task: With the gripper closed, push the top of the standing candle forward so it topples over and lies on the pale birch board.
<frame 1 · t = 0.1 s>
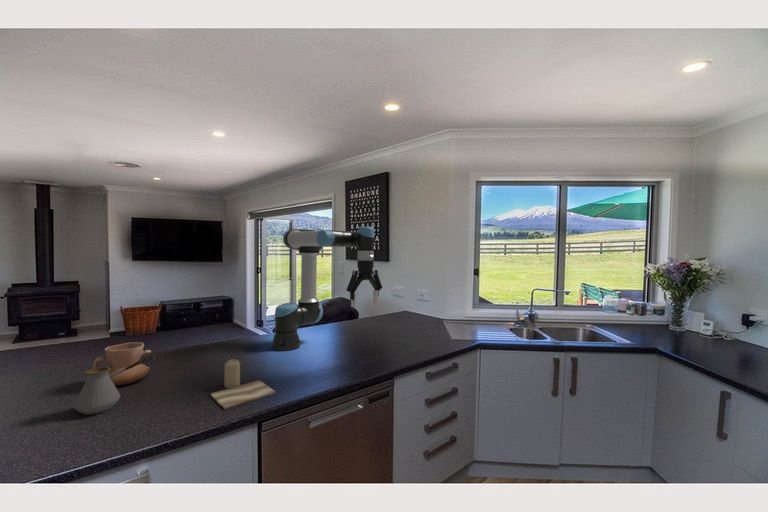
hand: (364, 305, 153), 28 cm above the worktop, tool pointing down, fingers open, 13 cm apart
coffee pot: (117, 405, 111), on the worktop
birch board: (243, 394, 120), on the worktop
candle: (232, 385, 128), on the worktop
stacked tan cups: (123, 382, 129), on the worktop
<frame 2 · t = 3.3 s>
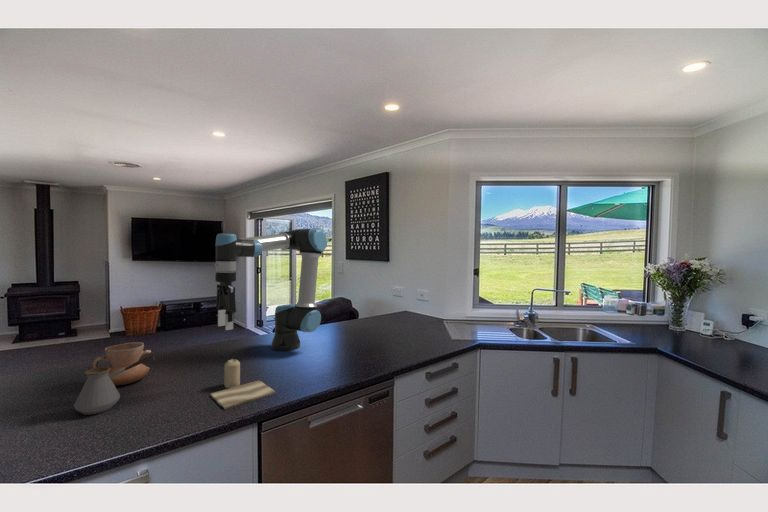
hand: (225, 327, 133), 21 cm above the worktop, tool pointing down, fingers open, 8 cm apart
nothing on the worktop moved.
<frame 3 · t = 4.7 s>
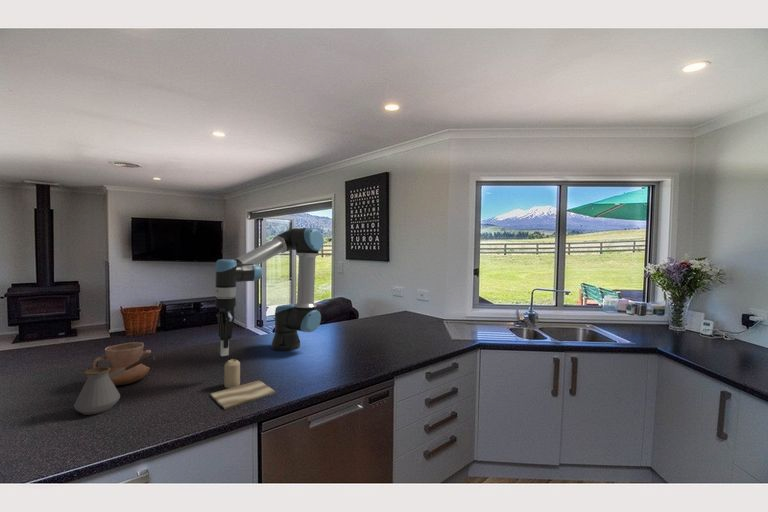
hand: (224, 355, 133), 10 cm above the worktop, tool pointing down, fingers closed
nothing on the worktop moved.
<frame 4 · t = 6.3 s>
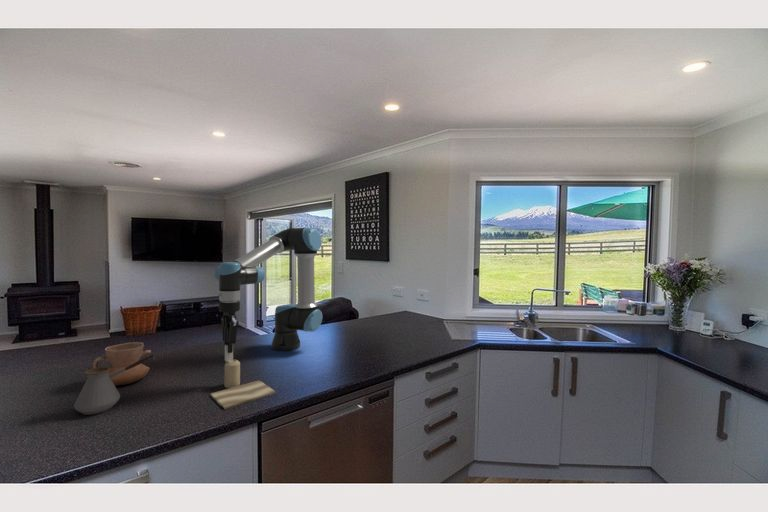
hand: (228, 360, 130), 9 cm above the worktop, tool pointing down, fingers closed
candle: (232, 385, 128), on the worktop, touching gripper
everything else where it was.
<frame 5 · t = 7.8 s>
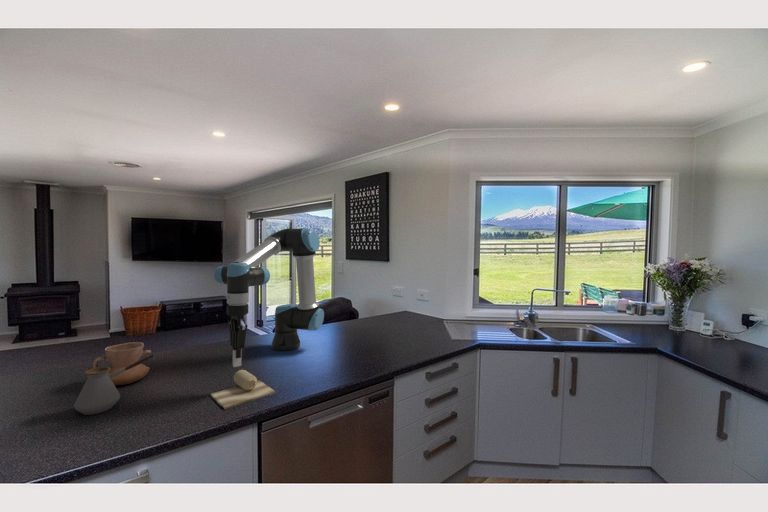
hand: (236, 365, 124), 9 cm above the worktop, tool pointing down, fingers closed
candle: (240, 376, 127), point 4 cm above the worktop, touching birch board
everything else where it was.
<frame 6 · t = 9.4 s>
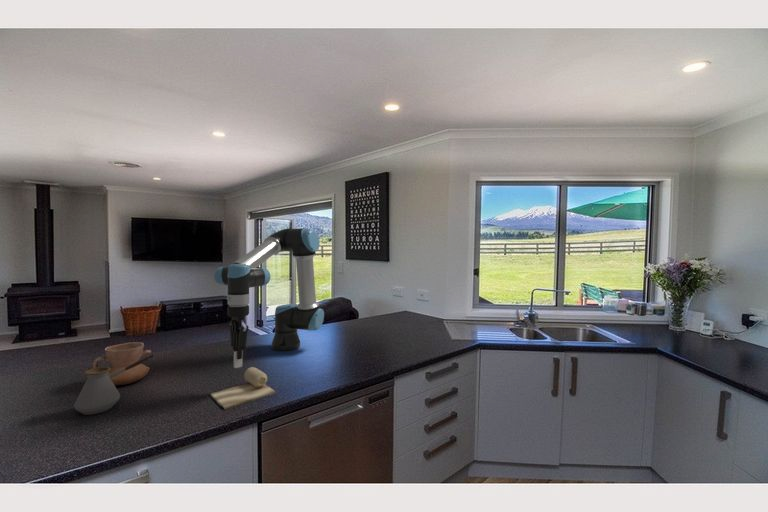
hand: (238, 366, 124), 9 cm above the worktop, tool pointing down, fingers closed
candle: (250, 373, 130), point 4 cm above the worktop, touching birch board
everything else where it was.
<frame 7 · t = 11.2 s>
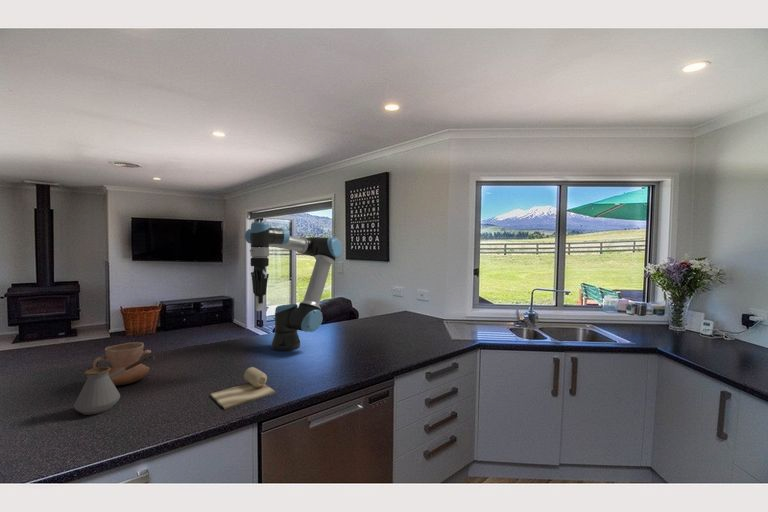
hand: (259, 310, 145), 26 cm above the worktop, tool pointing down, fingers closed
nothing on the worktop moved.
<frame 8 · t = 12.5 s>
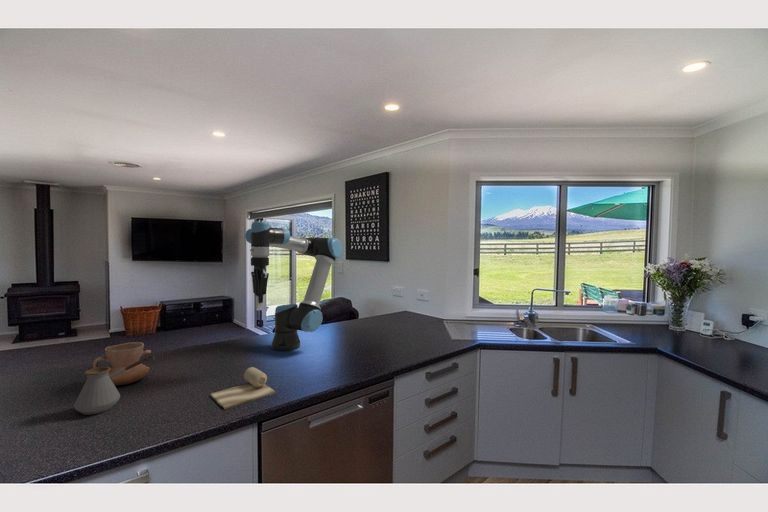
hand: (259, 309, 145), 26 cm above the worktop, tool pointing down, fingers closed
nothing on the worktop moved.
at the end: candle tilted 90°; candle inside the target area (8.5 cm from its centre), point 3.5 cm above the worktop; candle touching birch board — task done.
